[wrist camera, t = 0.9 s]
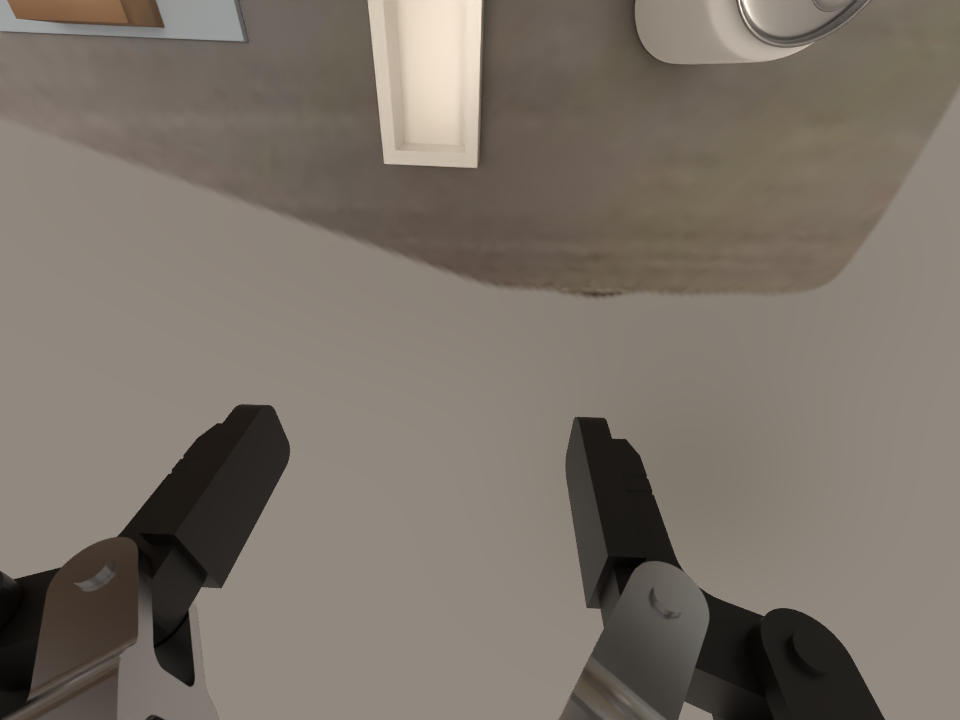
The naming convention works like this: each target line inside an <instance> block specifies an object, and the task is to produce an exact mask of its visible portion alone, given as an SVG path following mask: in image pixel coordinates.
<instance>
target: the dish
mask: <svg viewBox="0 0 960 720" xmlns="http://www.w3.org/2000/svg"><path fill="white" fill-rule="evenodd" d="M368 7H369V17H370V27H371V37H372V47H373V57H374V67H375V76H376V86H377V96H378V106H379V116H380V126H381V136H382V146H383V156H384V164H401V165H423V166H445V167H467V168H477V166H478V162H479V157H480V128H481V95H482V62H483V30H484V0H368Z"/></svg>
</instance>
